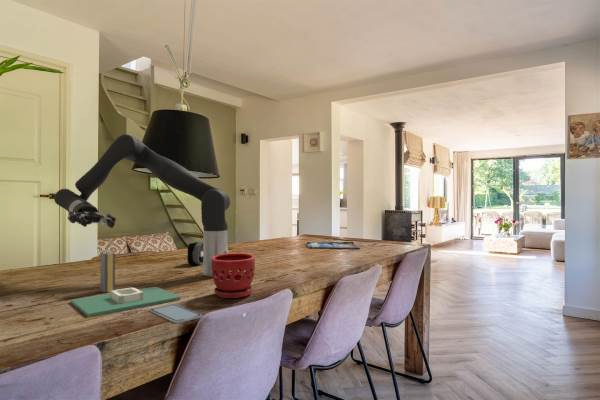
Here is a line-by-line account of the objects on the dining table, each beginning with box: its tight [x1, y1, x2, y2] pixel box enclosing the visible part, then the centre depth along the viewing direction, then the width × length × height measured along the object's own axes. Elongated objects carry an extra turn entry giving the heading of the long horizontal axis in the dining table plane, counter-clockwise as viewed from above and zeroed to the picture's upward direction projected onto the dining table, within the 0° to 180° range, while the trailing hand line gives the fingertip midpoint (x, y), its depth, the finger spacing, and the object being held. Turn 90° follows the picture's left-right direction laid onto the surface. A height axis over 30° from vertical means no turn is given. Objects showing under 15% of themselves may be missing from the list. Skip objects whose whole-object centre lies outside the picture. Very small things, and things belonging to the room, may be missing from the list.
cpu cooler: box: [186, 241, 203, 266], centre depth 168 cm, size 10×6×10 cm, turn 168°
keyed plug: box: [99, 251, 116, 294], centre depth 118 cm, size 3×5×12 cm, turn 43°
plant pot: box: [211, 252, 256, 299], centre depth 113 cm, size 13×13×12 cm
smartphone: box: [149, 303, 203, 324], centre depth 94 cm, size 7×1×15 cm
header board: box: [70, 286, 181, 318], centre depth 106 cm, size 24×18×3 cm
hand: (99, 224), depth 126 cm, fingers open, 8 cm apart
